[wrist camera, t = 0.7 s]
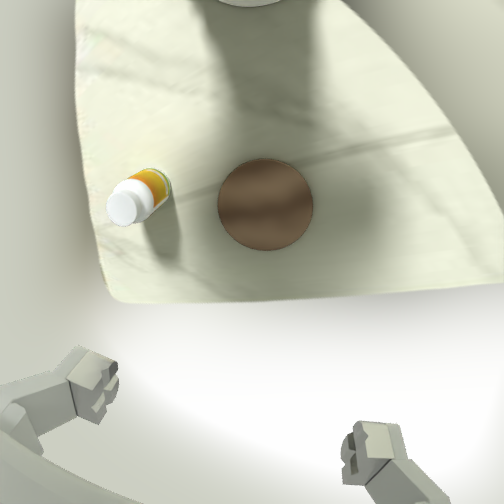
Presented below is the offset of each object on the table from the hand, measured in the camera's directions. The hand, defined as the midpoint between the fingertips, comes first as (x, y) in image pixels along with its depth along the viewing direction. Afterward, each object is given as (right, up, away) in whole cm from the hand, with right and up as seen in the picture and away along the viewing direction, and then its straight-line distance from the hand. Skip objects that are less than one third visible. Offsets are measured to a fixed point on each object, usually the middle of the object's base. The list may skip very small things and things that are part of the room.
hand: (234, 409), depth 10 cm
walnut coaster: (+2, +11, +32) cm, 34 cm away
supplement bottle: (-13, +14, +32) cm, 38 cm away
